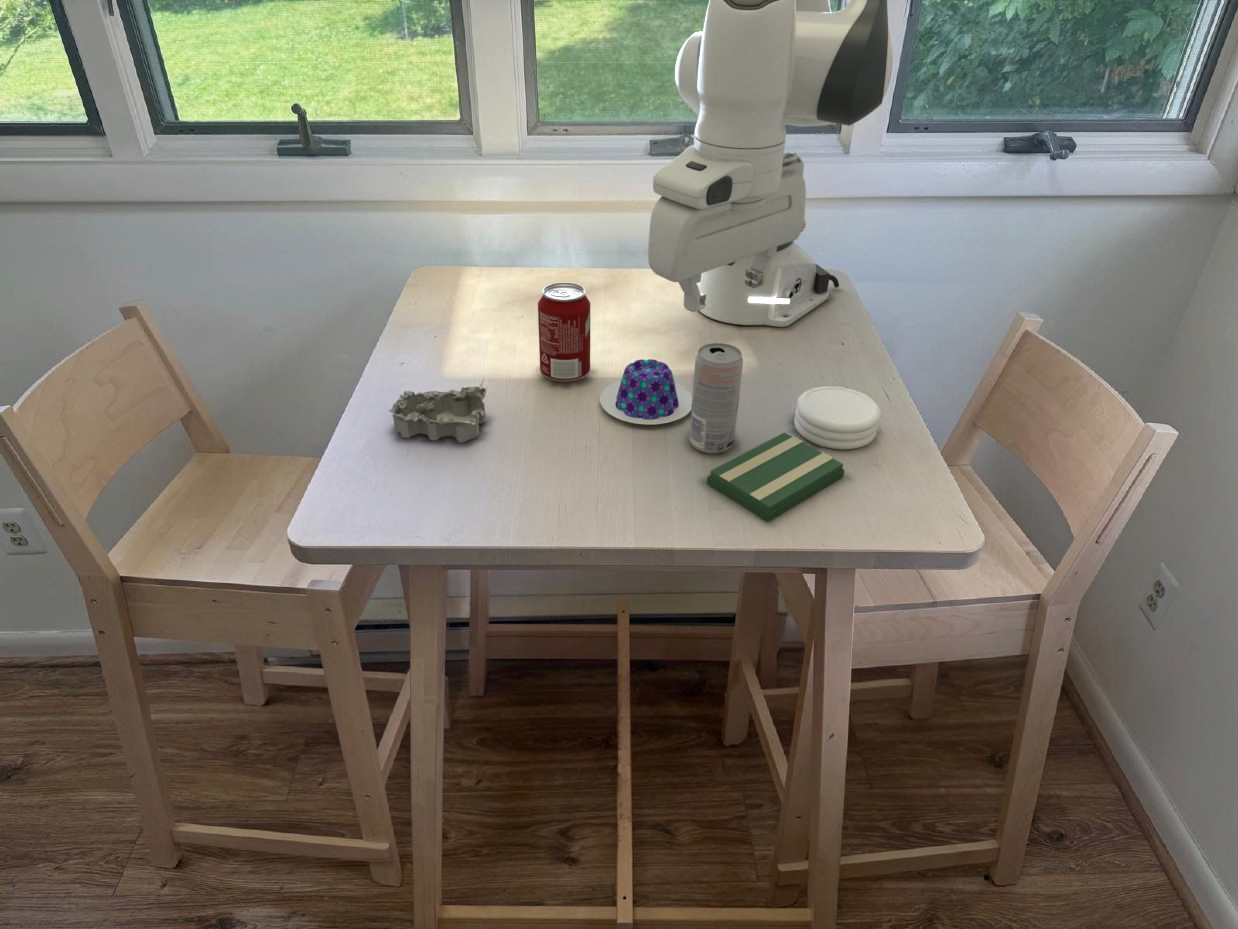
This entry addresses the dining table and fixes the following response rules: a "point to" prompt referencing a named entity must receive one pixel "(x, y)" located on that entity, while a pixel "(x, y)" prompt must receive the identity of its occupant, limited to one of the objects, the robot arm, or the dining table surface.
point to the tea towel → (775, 476)
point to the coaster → (837, 417)
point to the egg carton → (440, 413)
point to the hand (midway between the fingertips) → (725, 296)
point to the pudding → (646, 395)
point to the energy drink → (715, 397)
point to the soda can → (564, 332)
